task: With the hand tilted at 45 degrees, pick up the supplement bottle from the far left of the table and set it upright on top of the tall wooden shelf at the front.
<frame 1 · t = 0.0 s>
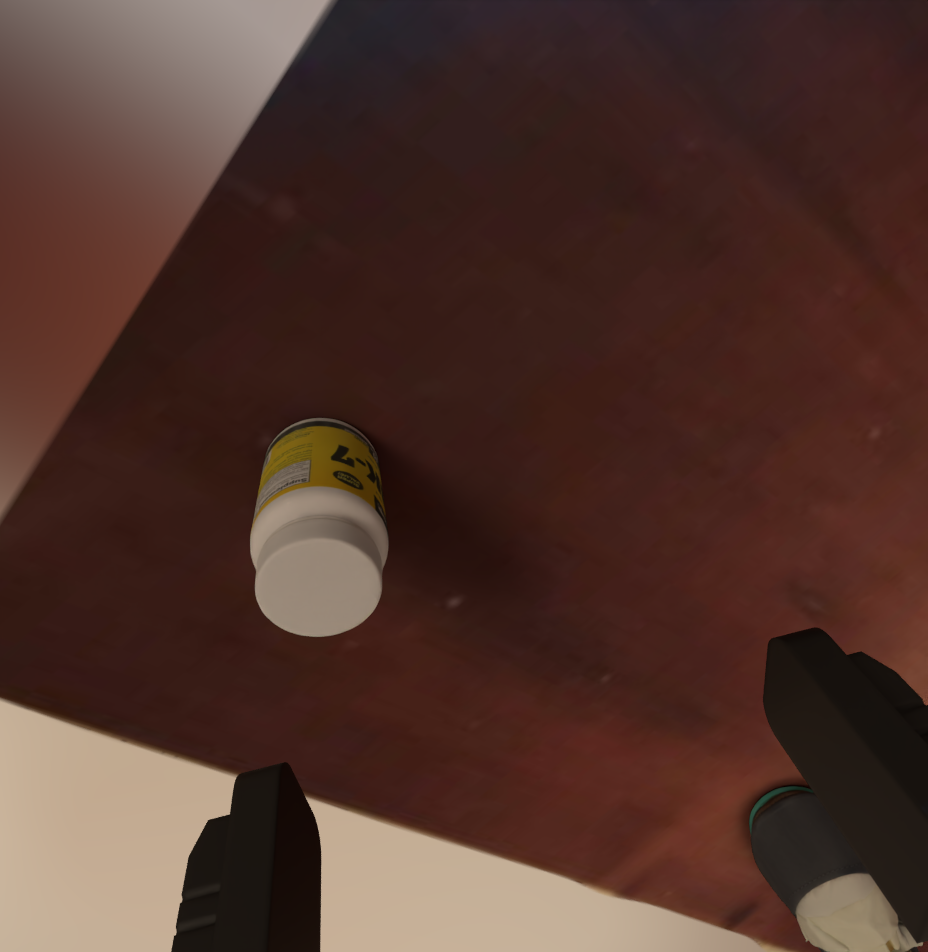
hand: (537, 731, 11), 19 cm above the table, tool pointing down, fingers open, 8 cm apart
supplement bottle: (322, 463, 29), on the table
ballet flat: (816, 853, 53), on the table
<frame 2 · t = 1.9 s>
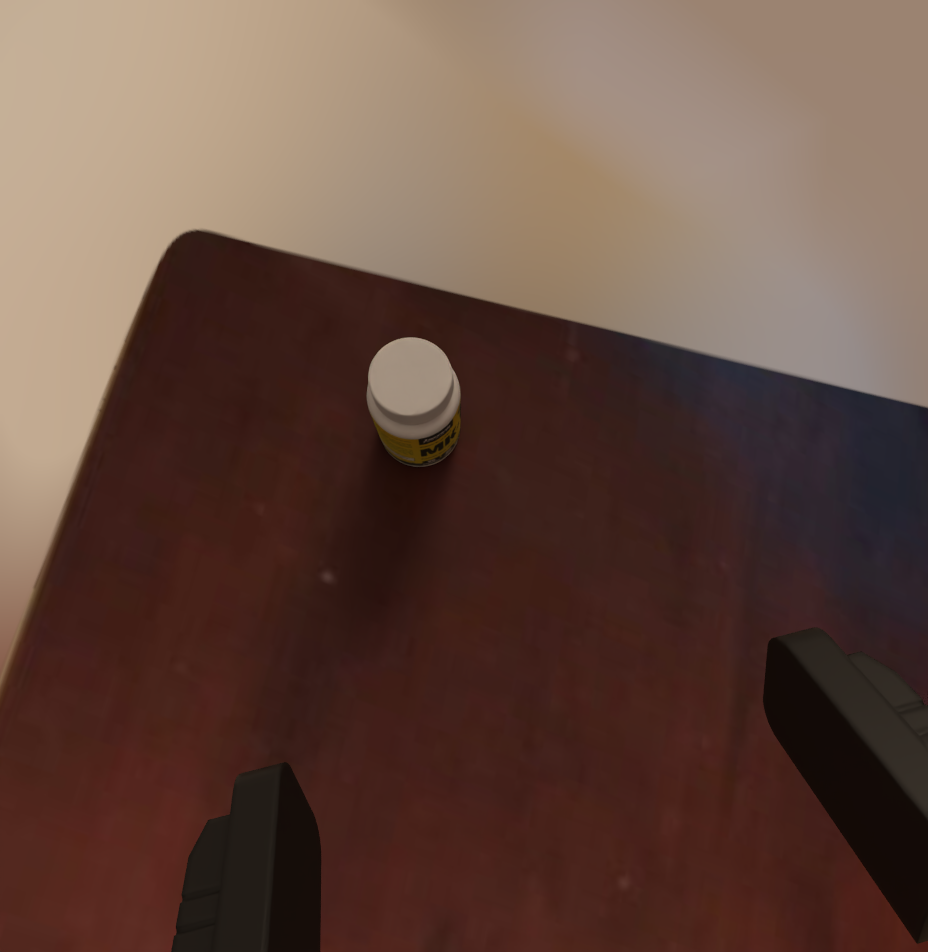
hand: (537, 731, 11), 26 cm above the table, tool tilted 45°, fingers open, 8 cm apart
supplement bottle: (421, 430, 40), on the table
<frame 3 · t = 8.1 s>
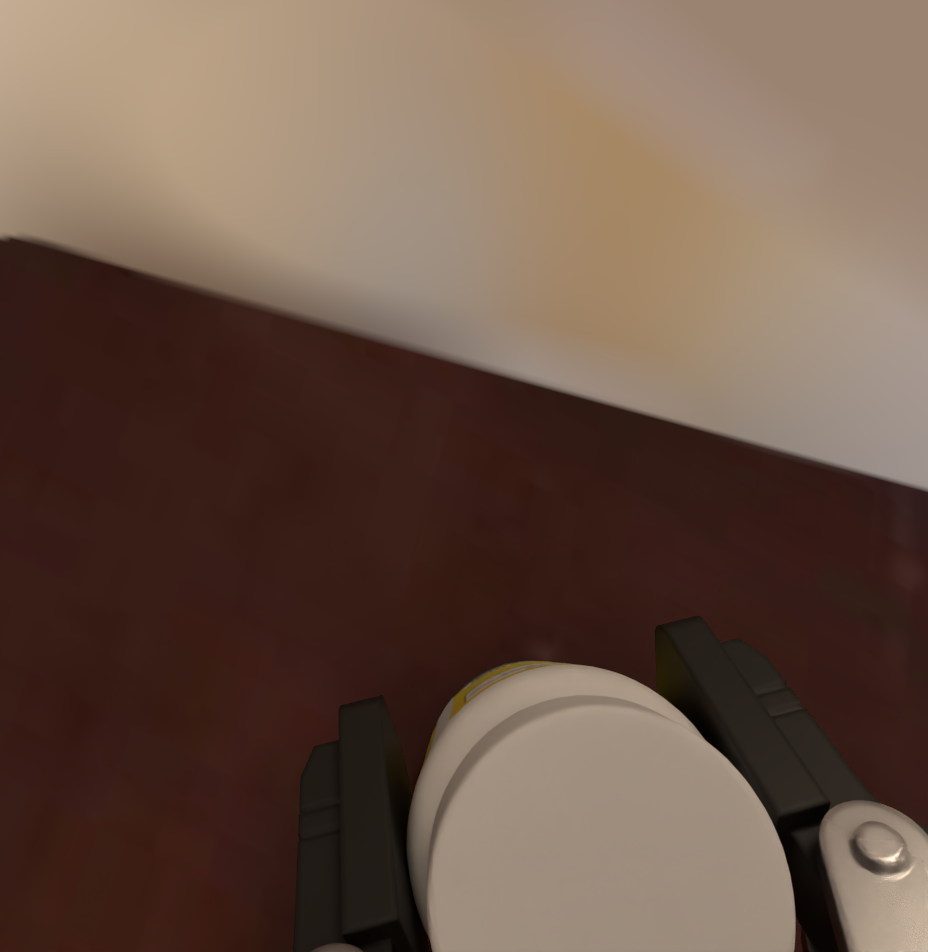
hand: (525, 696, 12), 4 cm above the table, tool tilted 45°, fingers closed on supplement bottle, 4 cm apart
supplement bottle: (530, 766, 16), on the table, touching gripper
when the fingers open (36 cm above the table, at t = 20.2 s): supplement bottle stays where it is, resting on wooden shelf.
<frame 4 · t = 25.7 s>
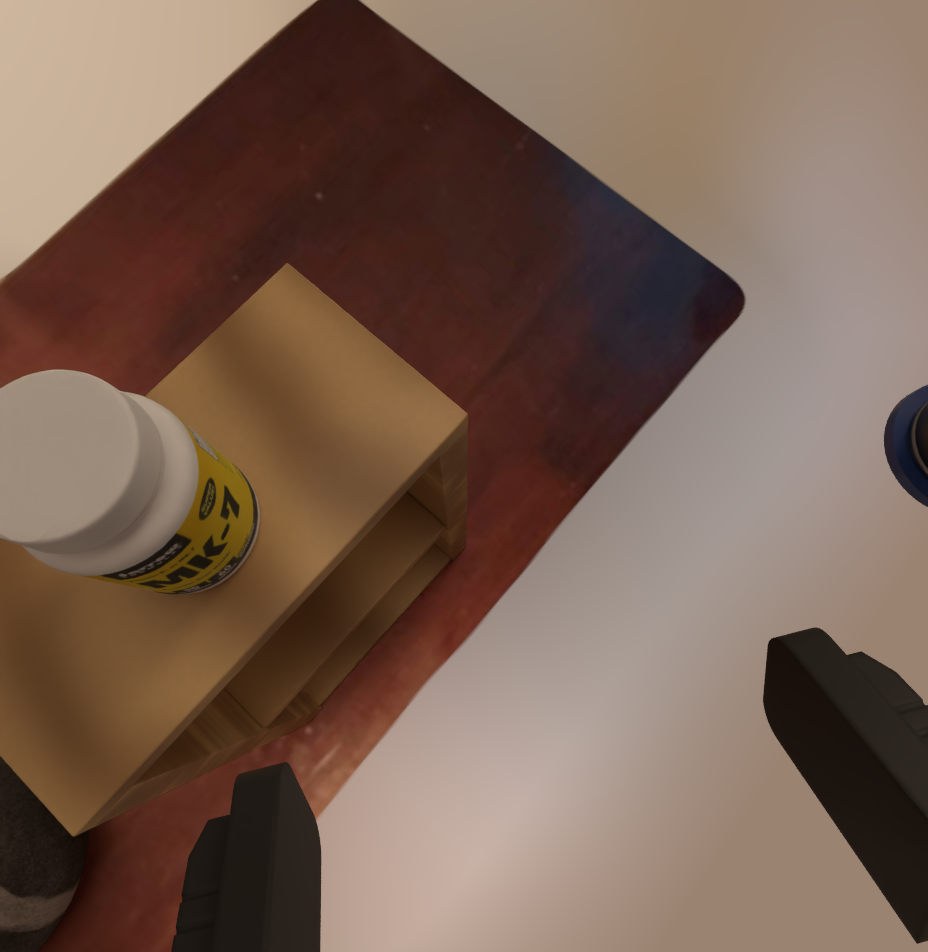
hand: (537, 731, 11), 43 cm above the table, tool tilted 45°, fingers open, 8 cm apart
supplement bottle: (195, 524, 23), point 32 cm above the table, touching wooden shelf
wooden shelf: (348, 593, 54), on the table
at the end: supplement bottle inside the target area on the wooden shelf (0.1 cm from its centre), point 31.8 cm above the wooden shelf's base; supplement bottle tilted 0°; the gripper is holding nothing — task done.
